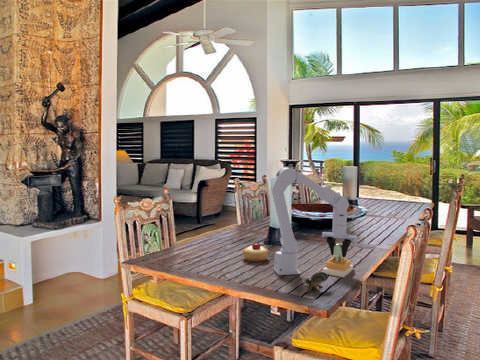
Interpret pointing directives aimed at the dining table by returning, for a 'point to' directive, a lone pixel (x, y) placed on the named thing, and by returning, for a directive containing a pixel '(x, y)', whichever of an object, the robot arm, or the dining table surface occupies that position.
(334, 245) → the green can
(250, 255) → the pastry
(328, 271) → the orange and cream box
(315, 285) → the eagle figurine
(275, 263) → the robot arm
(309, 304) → the dining table surface
